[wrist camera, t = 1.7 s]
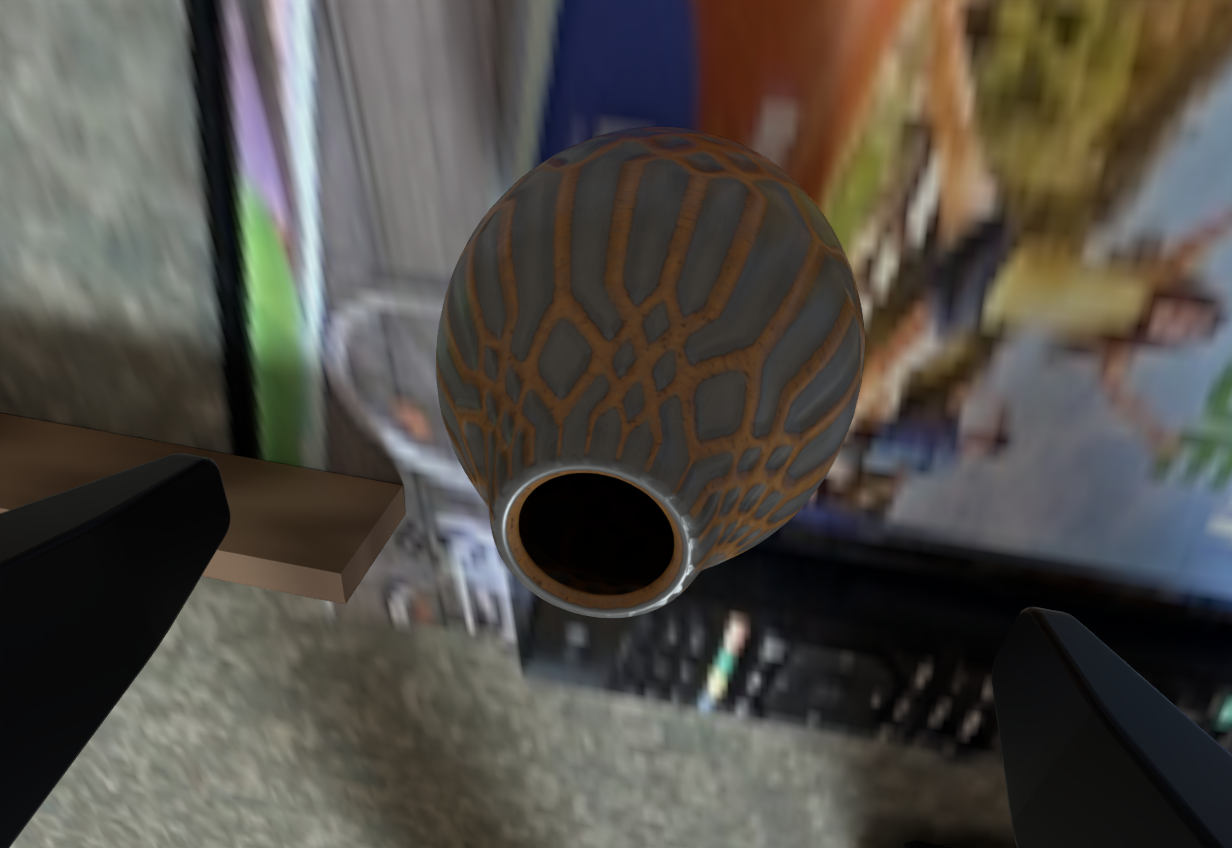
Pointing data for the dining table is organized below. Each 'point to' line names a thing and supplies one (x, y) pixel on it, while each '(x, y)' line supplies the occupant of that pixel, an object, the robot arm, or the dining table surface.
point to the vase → (647, 364)
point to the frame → (257, 497)
